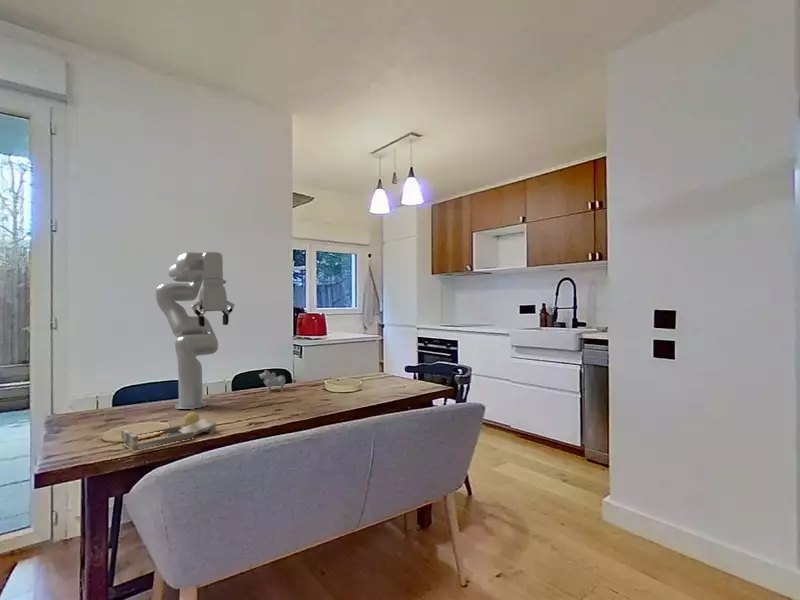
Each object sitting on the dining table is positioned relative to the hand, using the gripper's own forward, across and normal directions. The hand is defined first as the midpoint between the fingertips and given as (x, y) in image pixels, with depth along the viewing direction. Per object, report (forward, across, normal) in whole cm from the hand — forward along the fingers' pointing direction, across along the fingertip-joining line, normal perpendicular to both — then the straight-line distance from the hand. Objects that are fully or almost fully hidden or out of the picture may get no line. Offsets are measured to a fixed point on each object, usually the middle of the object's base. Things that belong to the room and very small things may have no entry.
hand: (213, 325), depth 188 cm
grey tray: (+37, +28, +17) cm, 49 cm away
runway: (+37, +28, +17) cm, 49 cm away
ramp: (+37, +15, +17) cm, 43 cm away
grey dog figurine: (+37, -42, -25) cm, 61 cm away
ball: (+34, +12, +6) cm, 37 cm away
